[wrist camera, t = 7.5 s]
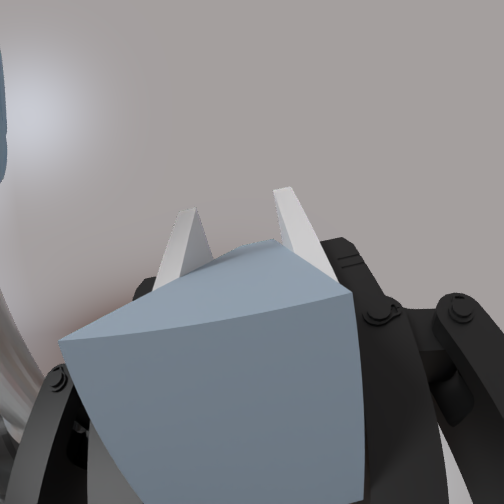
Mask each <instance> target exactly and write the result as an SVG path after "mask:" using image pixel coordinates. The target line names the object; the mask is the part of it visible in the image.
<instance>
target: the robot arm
mask: <svg viewBox="0 0 504 504" xmlns="http://www.w3.org/2000/svg"><path fill="white" fill-rule="evenodd" d="M5 103H6V102H5V87H4V75H3V65H2V57H1V51H0V183H1V182H2V180H3V178H4V175H5V170H6V163H7V142H6V133H7V120H6V104H5ZM273 193H274V199H275V204H276V209H277V215H278V221H279V226H280V232H281V238H282V243H283V246H285V247H286V248H288V249H289V250H291V251H292V252H294V253H295V254H297V255H298V256H300V257H301V258H303V259H304V260H306V261H307V262H309V263H310V264H312V265H313V266H315V267H316V268H318V269H319V270H321V271H322V272H323V273H325V274H326V275H328V276H329V277H331V278H332V279H334V280H335V281H337V282H338V283H339V284H341V285H342V286H344V287H345V288H347V289H348V290H350V291H351V292H352V294H353V301H354V308H355V316H356V324H357V332H358V341H359V351H360V362H361V374H362V388H363V405H364V437H365V465H364V495H363V500H361V501H357V502H354V503H353V504H449V497H448V486H447V477H446V469H445V462H444V456H443V450H442V444H441V439H440V433H439V428H438V424H439V426H440V428H441V430H442V432H443V434H444V437H445V439H446V441H447V443H448V445H449V447H450V449H451V452H452V454H453V456H454V458H455V461H456V463H457V465H458V467H459V470H460V472H461V474H462V477H463V479H464V482H465V484H466V486H467V489H468V492H469V494H470V497H471V499H472V502H473V504H504V334H503V332H502V331H501V330H500V328H499V327H498V326H497V325H496V324H495V322H494V321H493V320H492V319H491V317H490V316H489V315H488V314H487V313H486V311H485V310H484V309H483V308H482V307H481V306H480V304H479V303H478V302H477V301H475V300H474V299H473V298H472V297H470V296H468V295H465V294H462V293H451V294H447V295H445V296H444V297H442V298H441V299H440V300H439V302H438V304H437V306H436V309H407V308H403V307H402V306H401V304H400V303H399V302H398V301H396V300H395V299H393V298H391V297H388V296H385V295H384V293H383V291H382V290H381V288H380V286H379V285H378V283H377V281H376V280H375V278H374V276H373V275H372V273H371V272H370V270H369V268H368V266H367V265H366V264H365V262H364V260H363V258H362V257H361V256H360V255H359V252H358V251H357V249H356V247H355V246H354V244H352V243H351V242H349V241H347V240H346V239H344V238H343V237H340V238H335V239H331V240H326V241H321V242H319V240H318V238H317V236H316V234H315V232H314V230H313V228H312V226H311V224H310V222H309V220H308V218H307V216H306V214H305V212H304V210H303V209H302V206H301V204H300V203H299V201H298V199H297V197H296V195H295V193H294V191H293V189H292V187H286V188H281V189H276V190H273ZM213 260H214V259H213V257H212V253H211V251H210V248H209V245H208V242H207V239H206V236H205V232H204V229H203V226H202V223H201V220H200V217H199V214H198V211H197V208H196V207H195V208H191V209H187V210H183V211H179V214H178V216H177V219H176V222H175V224H174V227H173V230H172V233H171V235H170V238H169V241H168V244H167V247H166V250H165V253H164V256H163V259H162V262H161V265H160V268H159V271H158V274H157V276H156V277H151V278H147V279H144V281H143V282H142V283H141V284H140V285H139V287H138V288H137V289H136V292H135V295H134V297H133V301H134V300H136V299H138V298H140V297H142V296H144V295H146V294H148V293H150V292H152V291H154V290H156V289H158V288H159V287H161V286H163V285H165V284H167V283H169V282H171V281H173V280H175V279H177V278H179V277H181V276H183V275H185V274H187V273H189V272H191V271H193V270H195V269H197V268H199V267H201V266H203V265H205V264H207V263H209V262H211V261H213ZM437 422H438V423H437ZM0 504H144V503H143V502H142V501H141V499H140V498H139V497H138V495H137V494H136V493H135V491H134V490H133V488H132V487H131V486H130V484H129V483H128V481H127V480H126V478H125V477H124V476H123V474H122V473H121V471H120V470H119V468H118V466H117V465H116V463H115V462H114V460H113V459H112V457H111V455H110V454H109V452H108V450H107V449H106V447H105V445H104V443H103V442H102V440H101V438H100V436H99V435H98V433H97V431H96V429H95V427H94V425H93V423H92V421H91V419H90V418H89V416H88V414H87V411H86V409H85V407H84V405H83V403H82V401H81V399H80V397H79V394H78V392H77V390H76V388H75V385H74V383H73V381H72V378H71V376H70V373H69V371H68V368H67V366H66V363H65V364H60V365H58V366H56V367H54V368H53V369H52V370H51V371H50V372H49V373H48V375H47V376H46V377H44V375H43V374H42V372H41V370H40V369H39V367H38V365H37V364H36V362H35V360H34V358H33V357H32V355H31V353H30V352H29V350H28V348H27V346H26V344H25V342H24V340H23V338H22V336H21V334H20V333H19V330H18V328H17V326H16V324H15V322H14V320H13V318H12V316H11V313H10V311H9V309H8V306H7V304H6V302H5V299H4V297H3V294H2V292H1V290H0Z"/></svg>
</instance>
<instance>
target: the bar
mask: <svg viewBox="0 0 504 504" xmlns="http://www.w3.org/2000/svg"><path fill="white" fill-rule="evenodd" d="M58 344H59V347H60V349H61V352H62V355H63V358H64V360H65V363H66V366H67V368H68V371H69V373H70V376H71V378H72V381H73V383H74V385H75V388H76V390H77V392H78V394H79V397H80V399H81V401H82V403H83V405H84V407H85V409H86V411H87V414H88V416H89V418H90V419H91V421H92V423H93V425H94V427H95V429H96V431H97V433H98V435H99V436H100V438H101V440H102V442H103V443H104V445H105V447H106V449H107V450H108V452H109V454H110V455H111V457H112V459H113V460H114V462H115V463H116V465H117V466H118V468H119V470H120V471H121V473H122V474H123V476H124V477H125V478H126V480H127V481H128V483H129V484H130V486H131V487H132V488H133V490H134V491H135V493H136V494H137V495H138V497H139V498H140V499H141V501H142V502H143V503H144V504H350V503H354V502H357V501H361V500H363V495H364V465H365V437H364V405H363V388H362V374H361V362H360V351H359V341H358V332H357V324H356V316H355V308H354V301H353V294H352V292H351V291H350V290H348V289H347V288H345V287H344V286H342V285H341V284H339V283H338V282H337V281H335V280H334V279H332V278H331V277H329V276H328V275H326V274H325V273H323V272H322V271H321V270H319V269H318V268H316V267H315V266H313V265H312V264H310V263H309V262H307V261H306V260H304V259H303V258H301V257H300V256H298V255H297V254H295V253H294V252H292V251H291V250H289V249H288V248H286V247H285V246H283V245H282V244H280V243H279V242H277V241H276V240H274V239H270V240H266V241H261V242H257V243H252V244H247V245H243V246H240V247H238V248H236V249H234V250H232V251H230V252H228V253H226V254H224V255H222V256H220V257H218V258H216V259H214V260H213V261H211V262H209V263H207V264H205V265H203V266H201V267H199V268H197V269H195V270H193V271H191V272H189V273H187V274H185V275H183V276H181V277H179V278H177V279H175V280H173V281H171V282H169V283H167V284H165V285H163V286H161V287H159V288H158V289H156V290H154V291H152V292H150V293H148V294H146V295H144V296H142V297H140V298H138V299H136V300H134V301H132V302H131V303H129V304H127V305H125V306H123V307H121V308H119V309H117V310H115V311H113V312H111V313H109V314H107V315H106V316H104V317H102V318H100V319H98V320H96V321H94V322H92V323H90V324H89V325H87V326H85V327H83V328H81V329H79V330H77V331H75V332H73V333H71V334H70V335H68V336H66V337H64V338H62V339H60V340H58Z"/></svg>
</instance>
